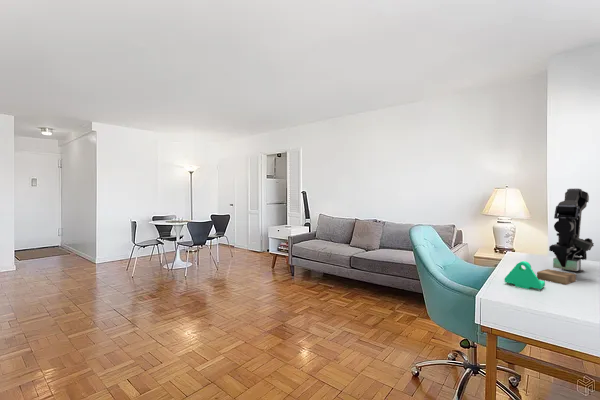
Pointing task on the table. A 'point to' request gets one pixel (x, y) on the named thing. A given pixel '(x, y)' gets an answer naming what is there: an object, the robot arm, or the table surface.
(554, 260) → the block
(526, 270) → the camera mount
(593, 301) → the table surface
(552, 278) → the stand
